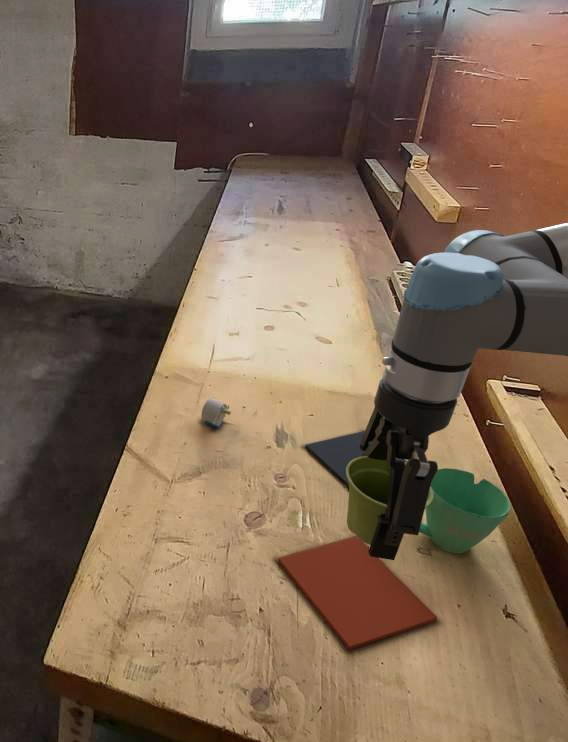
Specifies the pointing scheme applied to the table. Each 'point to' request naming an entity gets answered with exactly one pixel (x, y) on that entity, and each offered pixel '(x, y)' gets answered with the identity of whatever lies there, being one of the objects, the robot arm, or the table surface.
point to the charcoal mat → (338, 453)
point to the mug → (462, 510)
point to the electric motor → (214, 412)
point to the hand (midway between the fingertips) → (371, 528)
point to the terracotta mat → (355, 592)
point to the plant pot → (368, 495)
